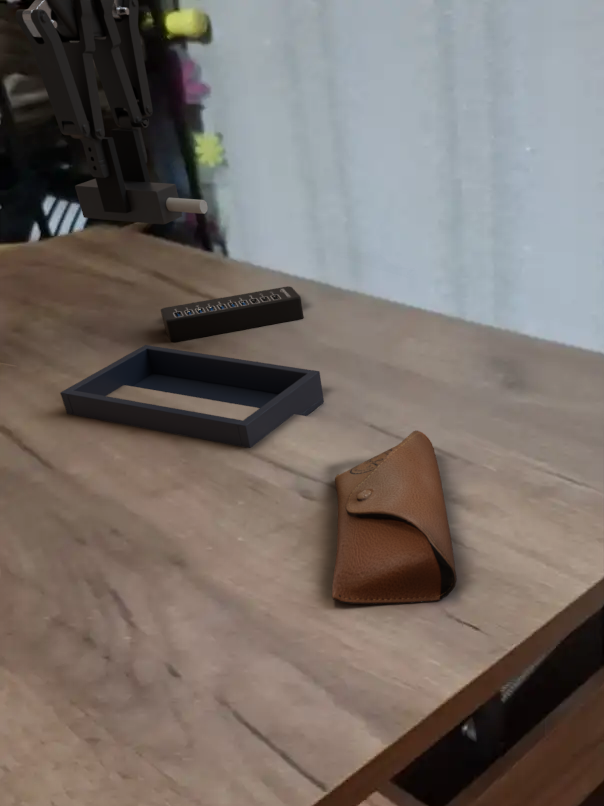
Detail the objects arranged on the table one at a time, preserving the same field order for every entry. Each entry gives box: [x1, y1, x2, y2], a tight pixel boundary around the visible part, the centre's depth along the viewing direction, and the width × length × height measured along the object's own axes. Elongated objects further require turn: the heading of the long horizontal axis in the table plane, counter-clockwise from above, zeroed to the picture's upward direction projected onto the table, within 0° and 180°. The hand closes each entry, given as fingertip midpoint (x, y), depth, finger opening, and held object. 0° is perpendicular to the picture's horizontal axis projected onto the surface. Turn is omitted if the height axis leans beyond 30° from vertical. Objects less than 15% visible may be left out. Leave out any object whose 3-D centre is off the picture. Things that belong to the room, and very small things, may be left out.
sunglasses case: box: [331, 430, 458, 606], centre depth 68 cm, size 18×7×7 cm
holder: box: [59, 344, 325, 449], centre depth 85 cm, size 20×12×3 cm, turn 66°
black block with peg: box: [74, 178, 209, 225], centre depth 94 cm, size 14×3×3 cm, turn 67°
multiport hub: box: [160, 286, 304, 343], centre depth 103 cm, size 4×14×2 cm, turn 114°
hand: (129, 205), depth 94 cm, fingers closed on black block with peg, 3 cm apart
